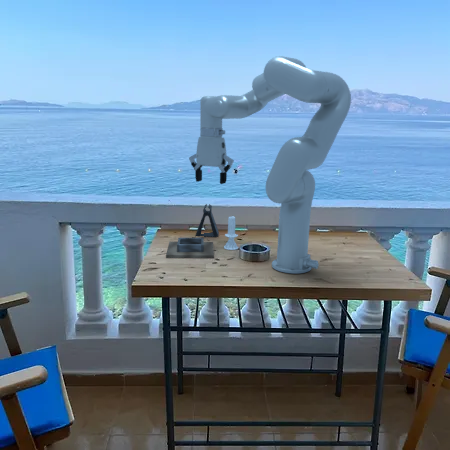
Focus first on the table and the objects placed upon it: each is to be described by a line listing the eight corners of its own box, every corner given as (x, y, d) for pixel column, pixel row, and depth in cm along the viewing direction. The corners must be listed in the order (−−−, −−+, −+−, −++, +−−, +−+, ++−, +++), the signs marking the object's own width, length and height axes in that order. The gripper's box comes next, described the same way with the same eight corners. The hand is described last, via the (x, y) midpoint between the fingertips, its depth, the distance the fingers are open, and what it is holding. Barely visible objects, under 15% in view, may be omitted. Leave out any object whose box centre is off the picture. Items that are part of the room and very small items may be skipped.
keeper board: (212, 244, 169) (213, 235, 168) (213, 258, 153) (214, 248, 152) (169, 244, 168) (169, 234, 167) (165, 258, 153) (165, 247, 152)
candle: (230, 244, 169) (231, 213, 166) (241, 248, 165) (242, 215, 162) (220, 247, 165) (221, 215, 162) (231, 251, 162) (232, 218, 159)
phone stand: (218, 233, 184) (219, 204, 181) (218, 237, 178) (218, 207, 175) (196, 232, 184) (196, 203, 181) (195, 236, 178) (195, 206, 175)
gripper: (238, 133, 157) (237, 183, 162) (195, 131, 165) (195, 179, 169) (228, 134, 151) (227, 185, 155) (184, 132, 158) (184, 181, 163)
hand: (210, 182), depth 162 cm, fingers open, 9 cm apart
